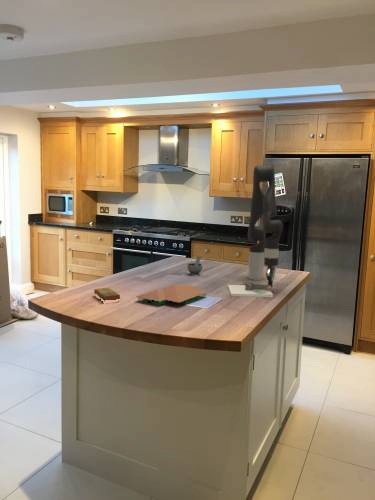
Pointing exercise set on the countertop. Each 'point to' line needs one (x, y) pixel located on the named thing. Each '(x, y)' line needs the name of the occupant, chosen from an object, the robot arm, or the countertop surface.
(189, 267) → the mortar and pestle
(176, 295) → the wooden board
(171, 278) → the countertop surface
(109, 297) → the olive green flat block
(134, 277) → the countertop surface
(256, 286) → the metal serving spoon
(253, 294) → the dial plate
